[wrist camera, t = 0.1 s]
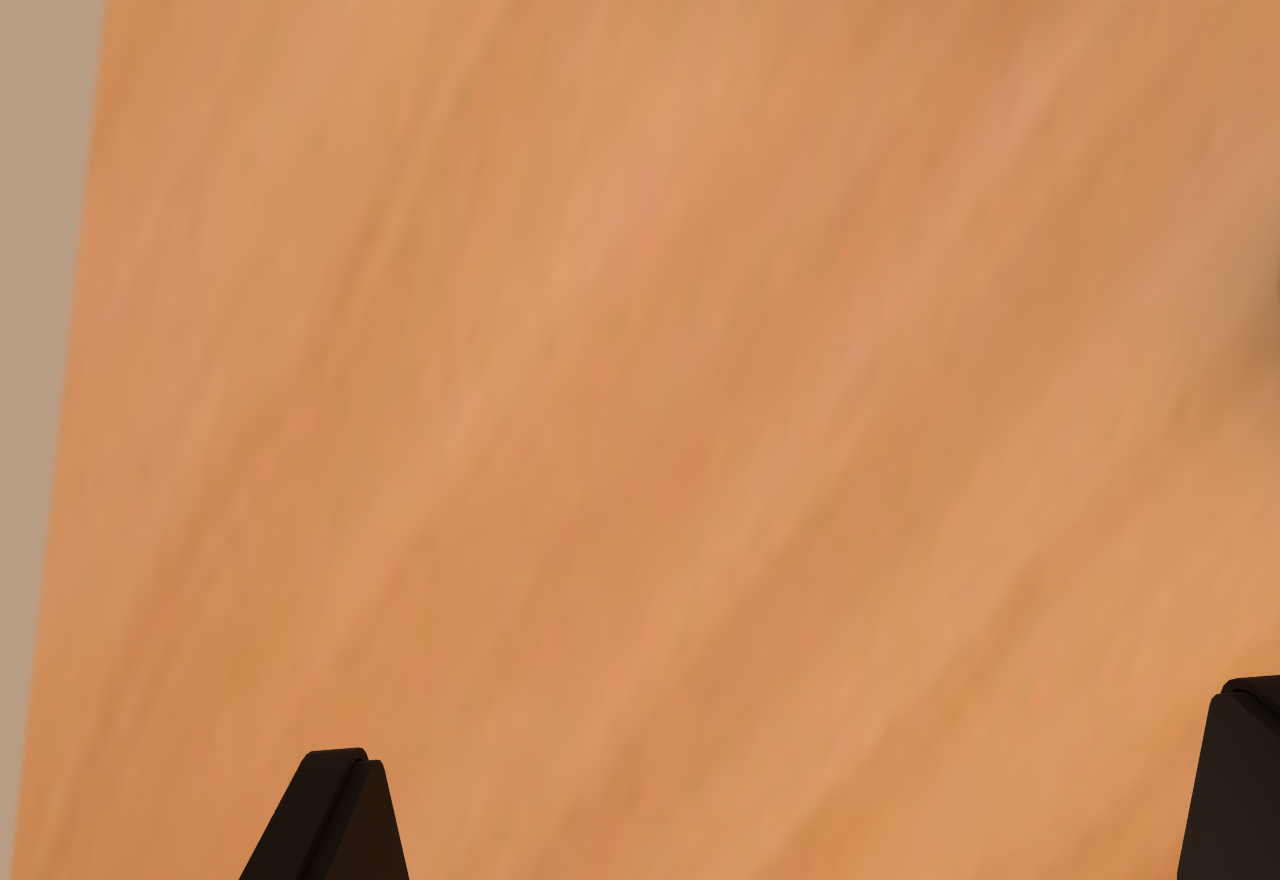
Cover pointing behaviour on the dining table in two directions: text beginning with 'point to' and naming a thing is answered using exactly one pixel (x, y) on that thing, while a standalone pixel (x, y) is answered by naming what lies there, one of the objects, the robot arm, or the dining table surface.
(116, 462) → the dining table surface
